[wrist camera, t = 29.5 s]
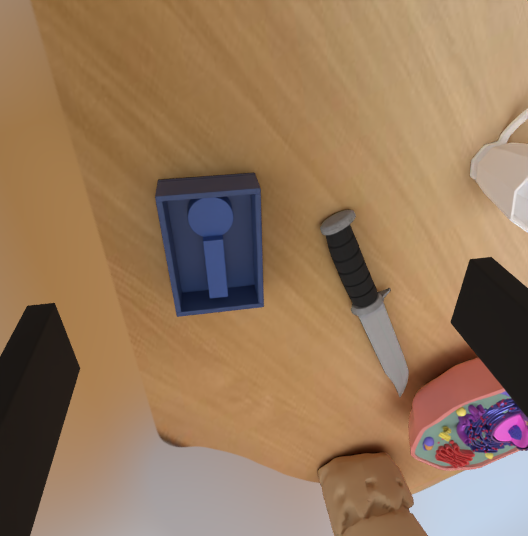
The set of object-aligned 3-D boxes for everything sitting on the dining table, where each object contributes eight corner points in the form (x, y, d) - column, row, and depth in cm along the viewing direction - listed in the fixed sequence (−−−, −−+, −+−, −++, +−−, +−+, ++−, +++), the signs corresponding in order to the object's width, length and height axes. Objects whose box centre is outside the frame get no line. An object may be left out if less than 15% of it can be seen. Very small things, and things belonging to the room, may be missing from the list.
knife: (350, 200, 40) (307, 226, 40) (365, 209, 38) (319, 237, 38) (419, 374, 56) (388, 393, 56) (433, 389, 53) (400, 409, 53)
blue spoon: (237, 280, 42) (239, 295, 40) (197, 284, 41) (198, 300, 39) (230, 187, 36) (232, 198, 34) (185, 190, 36) (184, 202, 34)
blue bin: (157, 179, 35) (154, 196, 32) (254, 172, 36) (260, 188, 33) (177, 294, 42) (176, 316, 39) (258, 285, 43) (263, 307, 40)
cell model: (387, 353, 52) (430, 430, 43) (535, 321, 53) (608, 389, 44) (384, 431, 62) (419, 507, 52) (509, 402, 63) (565, 473, 53)
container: (355, 492, 71) (399, 623, 56) (301, 476, 65) (334, 616, 50) (408, 452, 66) (471, 583, 51) (354, 431, 61) (407, 571, 46)
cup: (444, 192, 40) (494, 230, 34) (490, 85, 35) (560, 105, 29) (504, 199, 42) (563, 237, 35) (556, 97, 37) (638, 119, 30)
